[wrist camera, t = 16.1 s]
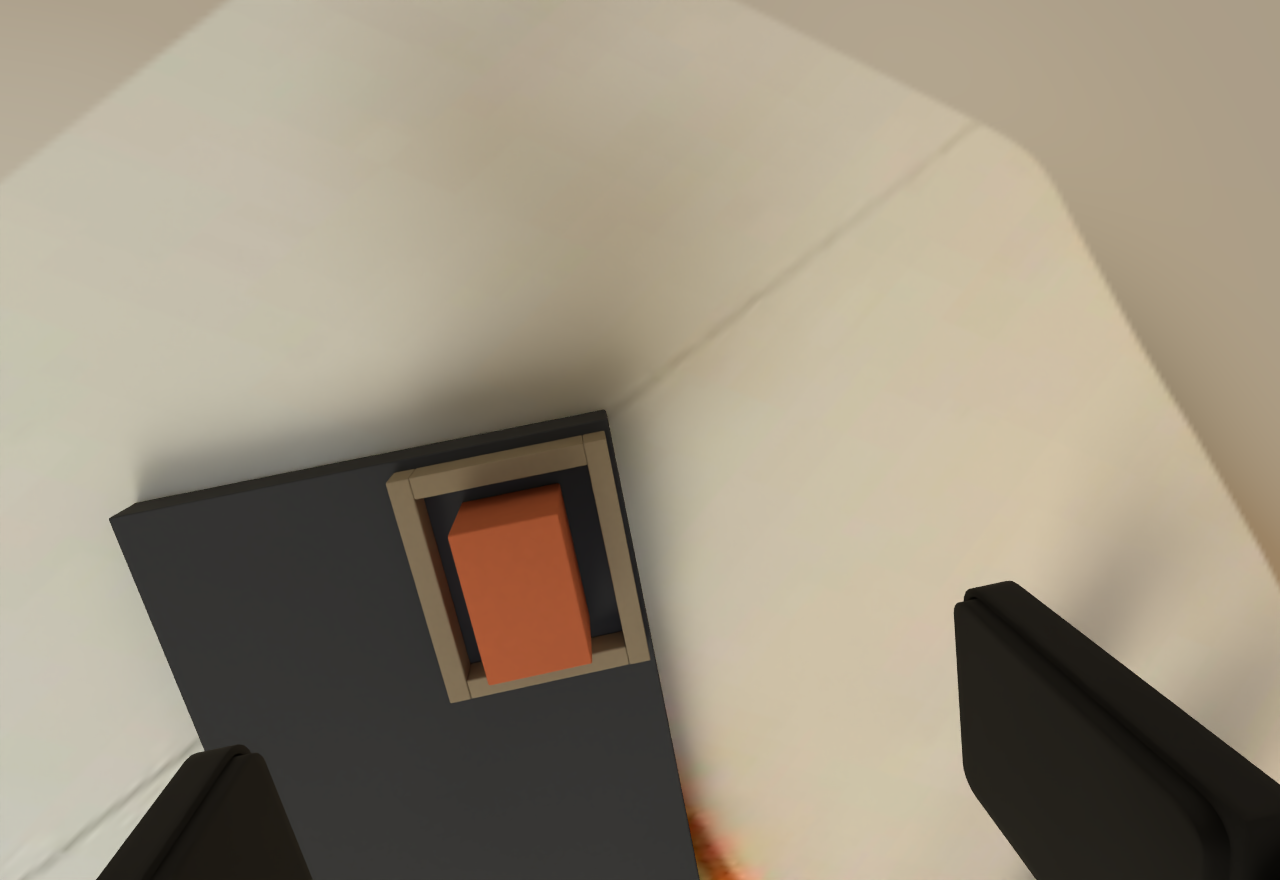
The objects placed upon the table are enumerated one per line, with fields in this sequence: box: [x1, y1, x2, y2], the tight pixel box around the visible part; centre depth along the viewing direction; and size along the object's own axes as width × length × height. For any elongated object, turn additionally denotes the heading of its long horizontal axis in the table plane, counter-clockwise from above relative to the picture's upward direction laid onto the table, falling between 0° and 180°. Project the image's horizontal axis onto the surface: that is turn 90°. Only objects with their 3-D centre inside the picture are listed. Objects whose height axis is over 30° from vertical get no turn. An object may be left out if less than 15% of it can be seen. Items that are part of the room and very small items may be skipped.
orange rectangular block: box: [448, 483, 592, 685], centre depth 31 cm, size 7×4×4 cm, turn 10°
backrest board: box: [109, 410, 700, 880], centre depth 35 cm, size 30×22×4 cm
